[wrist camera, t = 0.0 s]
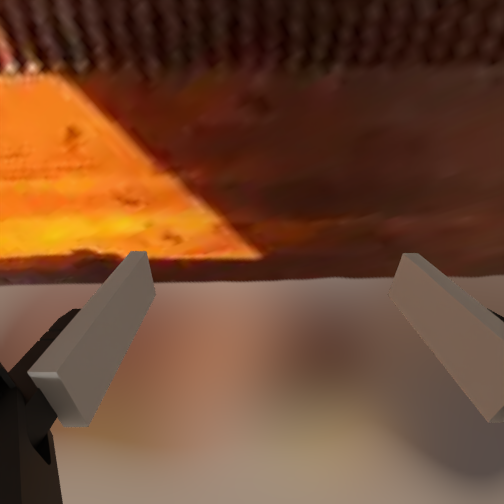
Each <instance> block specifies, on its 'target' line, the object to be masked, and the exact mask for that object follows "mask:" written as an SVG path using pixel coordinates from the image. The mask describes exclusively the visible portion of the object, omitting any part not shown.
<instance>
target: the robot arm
mask: <svg viewBox="0 0 504 504" xmlns="http://www.w3.org/2000/svg"><path fill="white" fill-rule="evenodd" d="M155 295H156V293H155V288H154V284H153V279H152V275H151V270H150V266H149V261H148V257H147V252H146V251H131V252H130V253H129V254H128V255H127V257H126V258H125V259H124V260H123V261H122V262H121V264H120V265H119V266H118V267H117V268H116V269H115V271H114V272H113V273H112V274H111V275H110V276H109V277H108V279H107V280H106V281H105V282H104V283H103V284H102V286H101V287H100V288H99V289H98V290H97V291H96V293H95V294H94V295H93V296H92V297H91V298H90V300H89V301H88V302H87V303H86V304H85V305H84V307H83V308H82V309H72V310H71V311H69V312H68V313H66V314H65V315H63V316H62V317H60V318H59V319H58V320H57V321H56V322H55V323H54V324H53V326H51V327H50V329H49V331H48V332H46V333H45V334H44V335H43V336H42V337H41V338H40V341H37V343H36V344H35V345H34V346H33V347H32V348H31V349H30V350H29V351H28V352H27V353H26V354H25V356H23V358H22V359H21V360H20V361H19V362H18V363H17V364H16V365H15V366H14V367H13V368H12V369H11V370H10V372H9V373H8V372H7V371H6V370H5V368H4V367H3V365H2V364H1V363H0V504H63V503H62V495H61V489H60V482H59V475H58V468H57V462H56V455H55V448H54V441H53V435H52V433H51V431H50V428H51V426H52V424H53V423H54V421H55V420H56V418H57V417H58V419H59V420H60V422H61V423H62V425H63V426H64V427H88V426H89V424H90V422H91V420H92V418H93V417H94V415H95V413H96V411H97V409H98V407H99V405H100V403H101V401H102V399H103V397H104V395H105V393H106V391H107V389H108V387H109V385H110V383H111V381H112V379H113V377H114V375H115V374H116V372H117V370H118V368H119V366H120V364H121V362H122V360H123V358H124V356H125V354H126V352H127V350H128V348H129V346H130V344H131V342H132V340H133V338H134V336H135V335H136V332H137V331H138V329H139V327H140V325H141V323H142V321H143V319H144V317H145V315H146V313H147V311H148V309H149V307H150V305H151V303H152V301H153V299H154V297H155ZM388 296H389V297H390V299H391V300H392V301H393V303H394V304H395V305H396V306H397V307H398V309H399V310H400V311H401V313H402V314H403V315H404V316H405V318H406V319H407V320H408V322H409V323H410V324H411V325H412V326H413V328H414V329H415V330H416V332H417V333H418V334H419V335H420V337H421V338H422V339H423V341H424V342H425V343H426V344H427V346H428V347H429V348H430V349H431V351H432V352H433V353H434V354H435V356H436V357H437V358H438V359H439V361H440V362H441V363H442V365H443V366H444V367H445V368H446V370H447V371H448V372H449V374H450V375H451V376H452V377H453V378H454V380H455V381H456V382H457V384H458V385H459V386H460V388H461V389H462V390H463V391H464V392H465V394H466V395H467V396H468V398H469V399H470V400H471V401H472V403H473V404H474V405H475V406H476V408H477V409H478V410H479V411H480V413H481V414H482V415H483V417H484V418H485V419H486V420H487V422H489V423H490V422H491V423H492V422H493V423H494V422H495V423H496V422H504V317H502V316H500V315H498V314H497V313H495V312H492V311H491V310H489V309H487V308H485V307H484V306H483V305H482V304H480V303H479V302H478V301H477V300H475V299H474V298H473V297H472V296H470V295H469V294H468V293H467V292H465V291H464V290H463V289H461V288H460V287H459V286H458V285H457V284H455V283H454V282H453V281H452V280H450V279H449V278H448V277H447V276H445V275H444V274H443V273H442V272H440V271H439V270H438V269H437V268H435V267H434V266H433V265H432V264H430V263H429V262H428V261H427V260H425V259H424V258H423V257H422V256H420V255H419V254H418V253H403V255H402V258H401V260H400V263H399V266H398V269H397V271H396V274H395V277H394V280H393V282H392V285H391V288H390V291H389V293H388Z"/></svg>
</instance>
